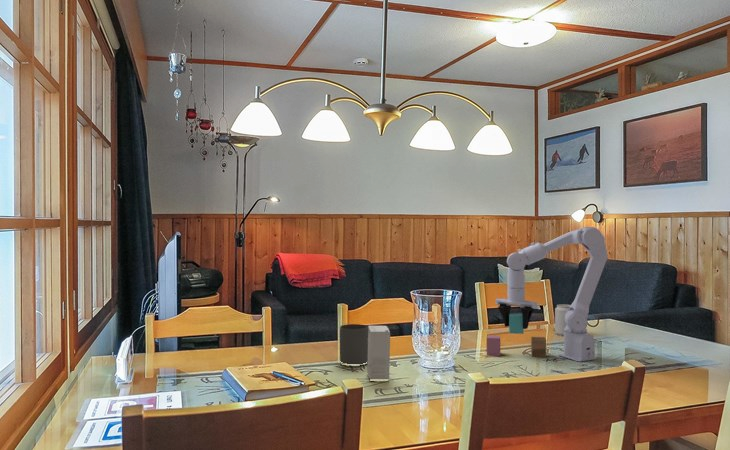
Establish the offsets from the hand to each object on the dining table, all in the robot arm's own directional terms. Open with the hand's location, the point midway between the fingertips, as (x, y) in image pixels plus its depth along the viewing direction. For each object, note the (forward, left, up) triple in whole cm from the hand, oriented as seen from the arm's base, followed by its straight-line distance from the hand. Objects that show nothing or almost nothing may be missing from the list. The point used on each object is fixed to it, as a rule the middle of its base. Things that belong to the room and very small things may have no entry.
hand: (516, 327), depth 192 cm
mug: (+16, +55, -10) cm, 57 cm away
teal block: (0, 0, -2) cm, 2 cm away
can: (+19, -40, -10) cm, 46 cm away
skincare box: (-5, +56, -10) cm, 57 cm away
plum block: (+4, +6, -10) cm, 12 cm away
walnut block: (-4, -6, -10) cm, 12 cm away
